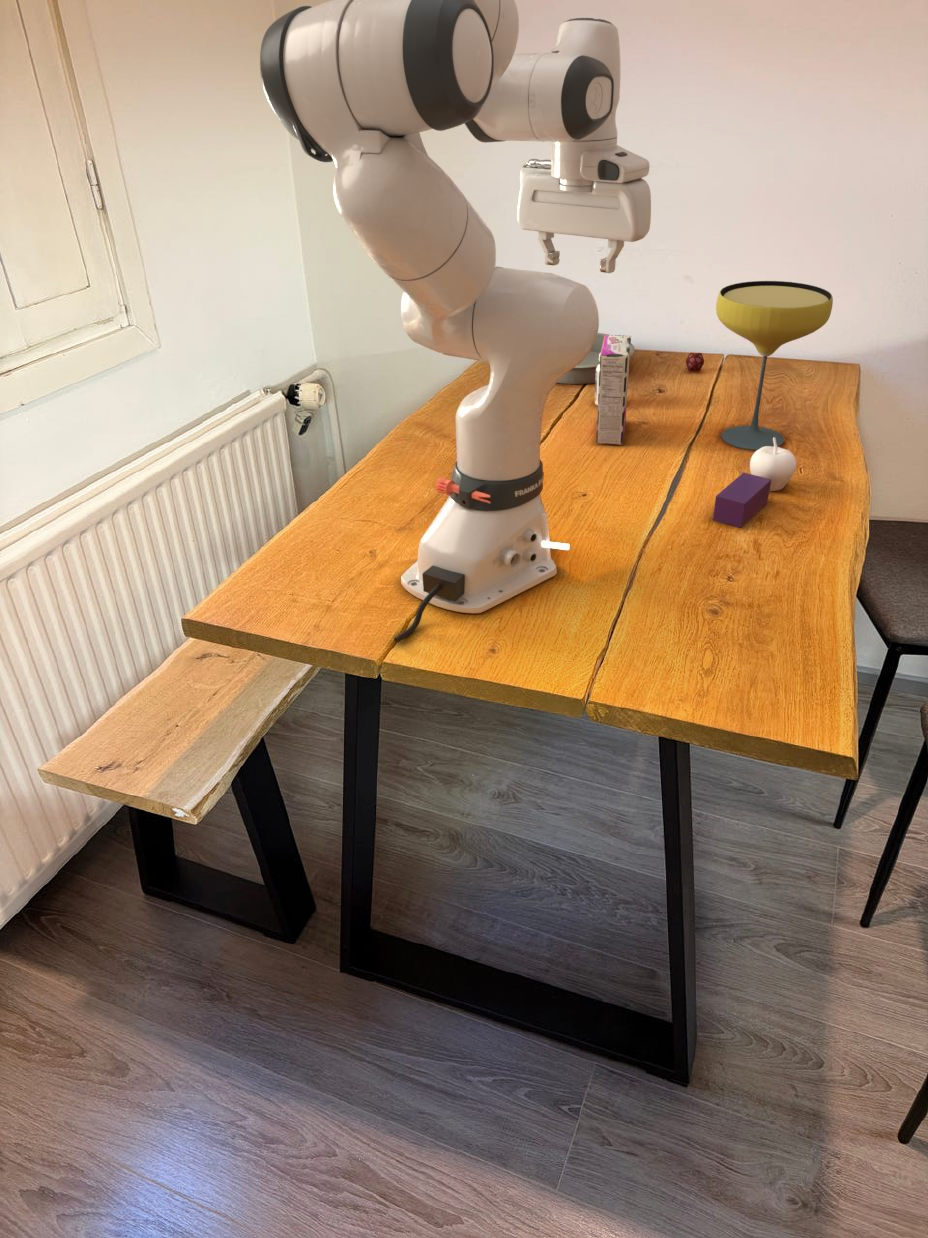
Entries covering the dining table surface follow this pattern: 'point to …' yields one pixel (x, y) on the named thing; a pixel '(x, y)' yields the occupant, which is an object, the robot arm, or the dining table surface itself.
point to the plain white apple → (773, 465)
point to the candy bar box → (613, 389)
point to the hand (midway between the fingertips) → (579, 268)
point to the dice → (694, 361)
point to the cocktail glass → (769, 333)
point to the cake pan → (587, 365)
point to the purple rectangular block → (741, 499)
